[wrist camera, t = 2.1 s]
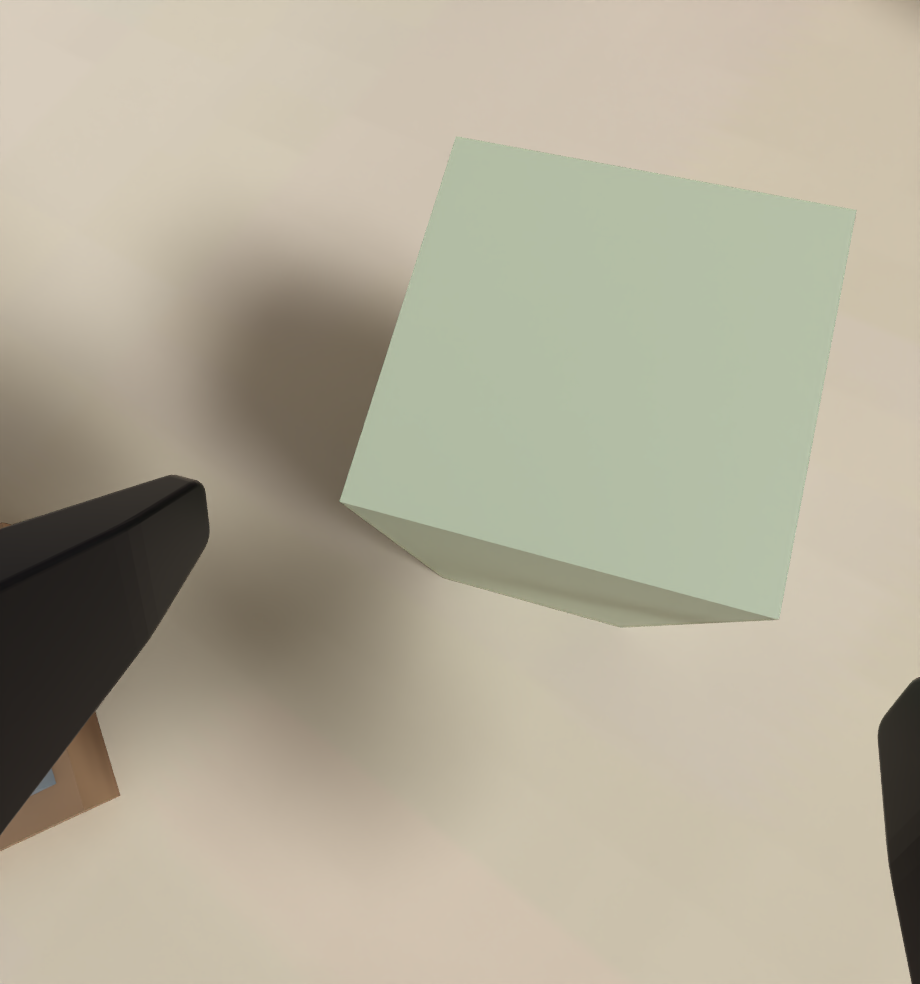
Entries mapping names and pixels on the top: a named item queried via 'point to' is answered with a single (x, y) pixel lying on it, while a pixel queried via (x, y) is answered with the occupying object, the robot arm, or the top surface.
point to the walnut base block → (67, 786)
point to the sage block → (604, 388)
